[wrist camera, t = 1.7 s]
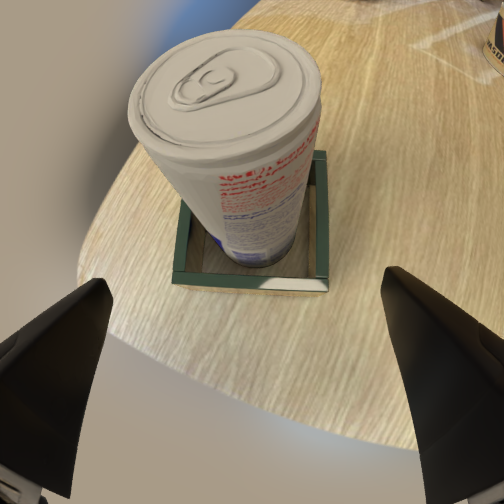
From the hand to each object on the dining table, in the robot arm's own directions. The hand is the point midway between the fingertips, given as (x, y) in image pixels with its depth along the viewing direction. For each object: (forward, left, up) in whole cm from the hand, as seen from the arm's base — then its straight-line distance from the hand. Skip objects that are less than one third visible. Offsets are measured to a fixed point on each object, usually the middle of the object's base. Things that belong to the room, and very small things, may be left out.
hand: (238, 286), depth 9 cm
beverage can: (+5, 0, -12) cm, 13 cm away
